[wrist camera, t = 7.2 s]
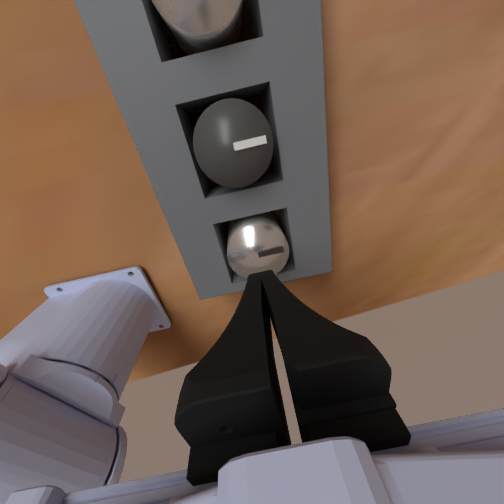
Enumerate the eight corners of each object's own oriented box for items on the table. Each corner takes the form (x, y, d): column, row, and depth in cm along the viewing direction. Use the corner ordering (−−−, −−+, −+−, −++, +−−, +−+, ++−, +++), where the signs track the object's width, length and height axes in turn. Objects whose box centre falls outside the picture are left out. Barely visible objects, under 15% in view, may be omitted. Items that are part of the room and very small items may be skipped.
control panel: (205, 273, 22) (200, 299, 18) (85, -47, 12) (21, -126, 8) (316, 249, 21) (332, 271, 18) (287, -104, 11) (312, -212, 8)
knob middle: (213, 181, 17) (206, 195, 13) (194, 116, 15) (180, 109, 11) (268, 168, 17) (279, 178, 13) (257, 100, 15) (266, 88, 11)
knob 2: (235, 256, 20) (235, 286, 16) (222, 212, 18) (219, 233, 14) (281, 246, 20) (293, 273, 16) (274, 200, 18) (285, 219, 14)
